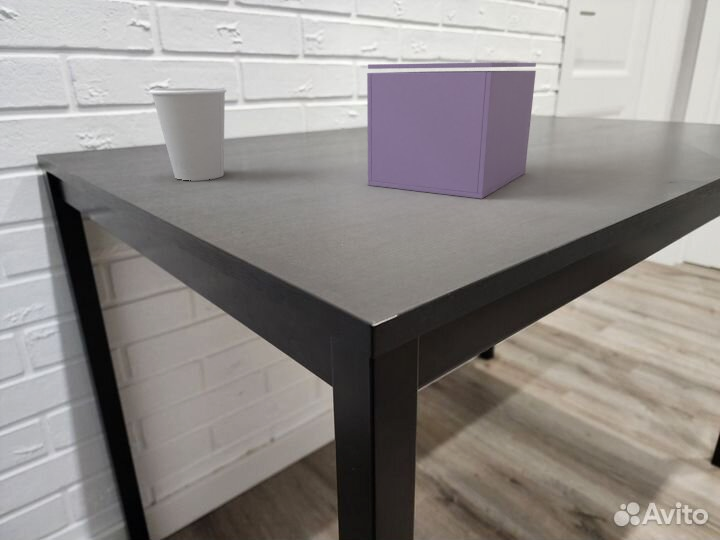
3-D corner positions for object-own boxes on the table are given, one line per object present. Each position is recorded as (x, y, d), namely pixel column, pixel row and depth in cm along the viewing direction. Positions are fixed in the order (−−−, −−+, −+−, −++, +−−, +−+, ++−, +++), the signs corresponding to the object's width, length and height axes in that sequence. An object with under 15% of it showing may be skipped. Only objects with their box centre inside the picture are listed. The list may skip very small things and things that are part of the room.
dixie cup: (189, 168, 67) (178, 87, 63) (246, 171, 65) (239, 87, 61) (147, 181, 59) (132, 90, 56) (211, 184, 57) (200, 90, 54)
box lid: (429, 68, 64) (430, 64, 63) (535, 66, 57) (536, 62, 57) (402, 68, 58) (402, 64, 58) (516, 66, 51) (517, 62, 51)
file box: (426, 164, 68) (430, 64, 64) (525, 173, 62) (536, 62, 57) (367, 185, 56) (366, 64, 52) (482, 199, 50) (492, 62, 45)
